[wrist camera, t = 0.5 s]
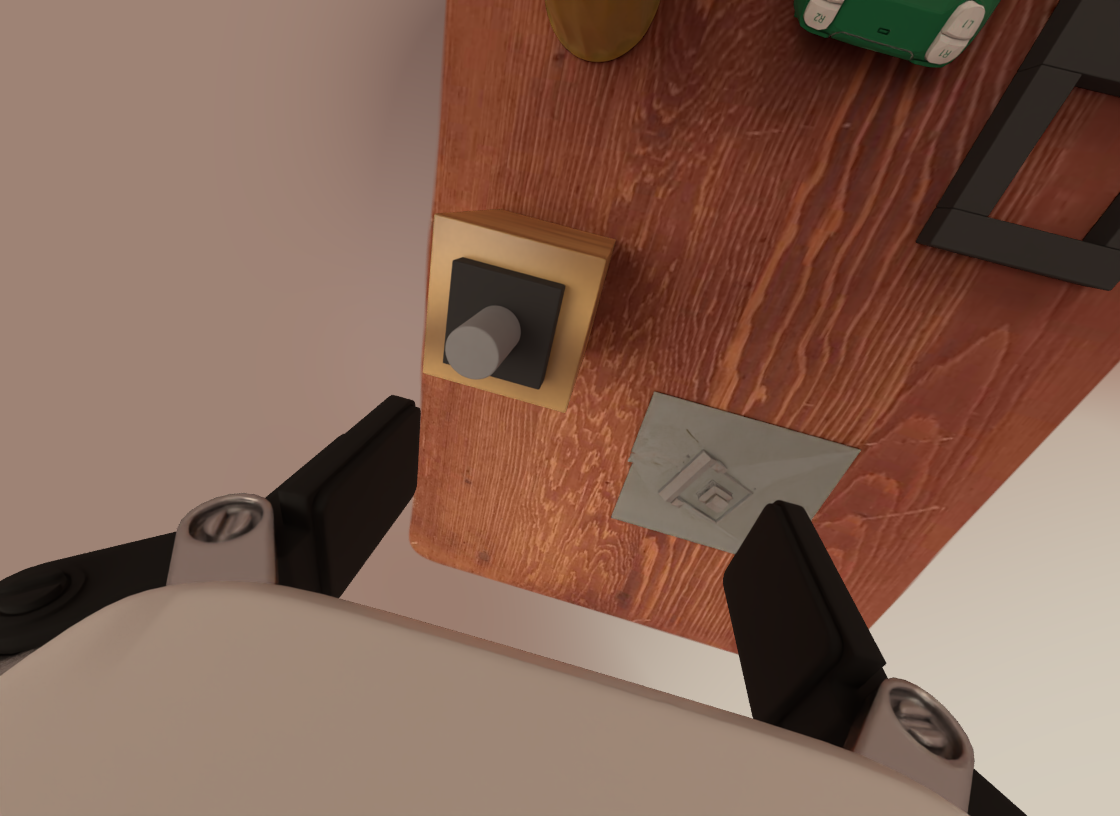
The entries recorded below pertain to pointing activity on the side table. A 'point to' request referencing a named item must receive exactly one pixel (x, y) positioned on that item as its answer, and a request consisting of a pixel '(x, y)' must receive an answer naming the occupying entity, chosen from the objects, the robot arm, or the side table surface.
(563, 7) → the vase
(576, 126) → the side table surface
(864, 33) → the gaming controller
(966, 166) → the base pad
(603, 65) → the side table surface
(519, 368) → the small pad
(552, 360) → the stand
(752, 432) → the grey flat square slab
